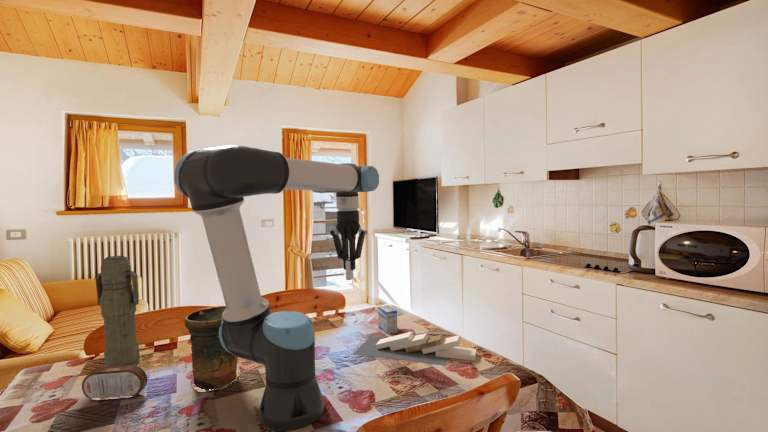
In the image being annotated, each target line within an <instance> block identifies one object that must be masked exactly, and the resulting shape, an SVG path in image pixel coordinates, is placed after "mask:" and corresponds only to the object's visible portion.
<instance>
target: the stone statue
mask: <svg viewBox="0 0 768 432" xmlns="http://www.w3.org/2000/svg"><path fill="white" fill-rule="evenodd" d="M138 279H139V278H138V274H137V272H135V271H133V270H132V265H131V262H130V261H129V258H128V257H127V256H125V255H114V256H113V255H112V256H107V257H105V258H103V259H102V262H101V266H100V272H99V273H97V274H96V276H95V287H96V288H95V289H96V294H97V305H98V306H99V307H100V313H101V317H102V318H103V325H104V340H105V349H104V351H103V355H104V365H105V366H104V367H113V366H127V365H134V366H137V365H138V364H139V363H140V357H141V356H140V345H139V342H138V340H137V330H136V328H137V327H136V315H135V313H136V311H137V305H139V299H140V298H139V297H140V296H139V295H140V294H139V282H138V281H139V280H138Z"/></svg>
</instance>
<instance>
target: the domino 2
mask: <svg viewBox="0 0 768 432" xmlns="http://www.w3.org/2000/svg"><path fill="white" fill-rule="evenodd" d="M428 338H429V335H428V333H427V332H425V333H421V334H417V335H414V337H413V338H412V339H411V341H410V342H406V343H402V344H398V345H394V346H390V349H391V351H394V350H399V349H403V348H407V347H411V346H416V345H420V344H424V343H426V341H427V339H428Z"/></svg>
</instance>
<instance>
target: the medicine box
mask: <svg viewBox="0 0 768 432" xmlns="http://www.w3.org/2000/svg"><path fill="white" fill-rule="evenodd" d="M377 311H378V312H377V315H378V316H377V317H378V318H377V321H378V322H377V323H378V326H377V327H378V329H379V330H380V331H382V332H383V333H384V334H386V335H389V334H394V333H398V311H397V310H396V309H394V308H393V307H391V306H389V305H384V306H383V305H382V306H378V307H377Z"/></svg>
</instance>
